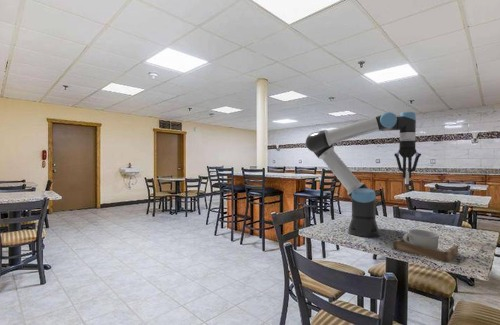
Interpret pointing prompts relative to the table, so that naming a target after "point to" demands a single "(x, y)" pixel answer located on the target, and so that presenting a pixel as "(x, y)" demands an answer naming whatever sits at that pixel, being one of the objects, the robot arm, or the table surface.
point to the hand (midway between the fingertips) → (406, 184)
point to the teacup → (422, 238)
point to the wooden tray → (426, 250)
